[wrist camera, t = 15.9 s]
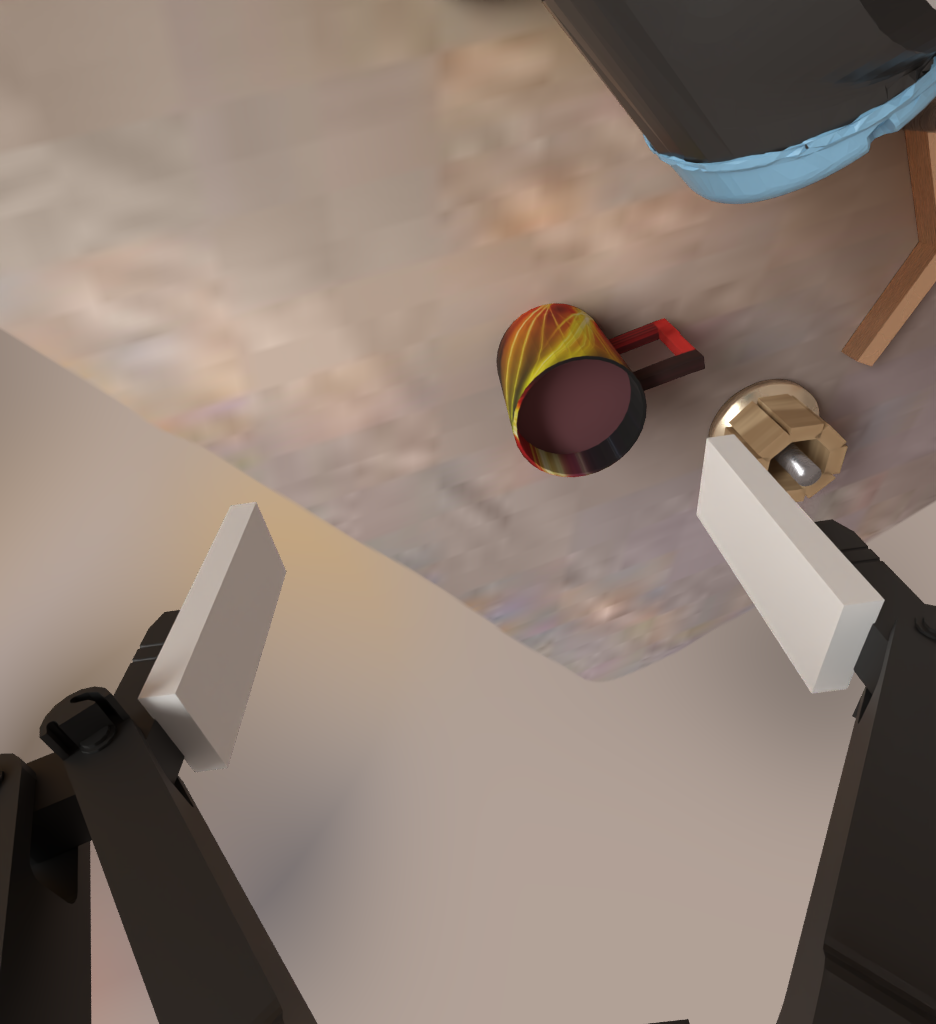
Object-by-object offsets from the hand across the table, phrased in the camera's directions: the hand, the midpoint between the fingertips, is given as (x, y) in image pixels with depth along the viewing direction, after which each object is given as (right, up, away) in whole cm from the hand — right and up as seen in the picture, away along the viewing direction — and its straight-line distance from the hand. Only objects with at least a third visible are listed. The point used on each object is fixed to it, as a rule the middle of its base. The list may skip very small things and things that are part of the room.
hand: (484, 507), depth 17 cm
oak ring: (+28, +7, +38) cm, 48 cm away
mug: (+8, +15, +33) cm, 37 cm away
